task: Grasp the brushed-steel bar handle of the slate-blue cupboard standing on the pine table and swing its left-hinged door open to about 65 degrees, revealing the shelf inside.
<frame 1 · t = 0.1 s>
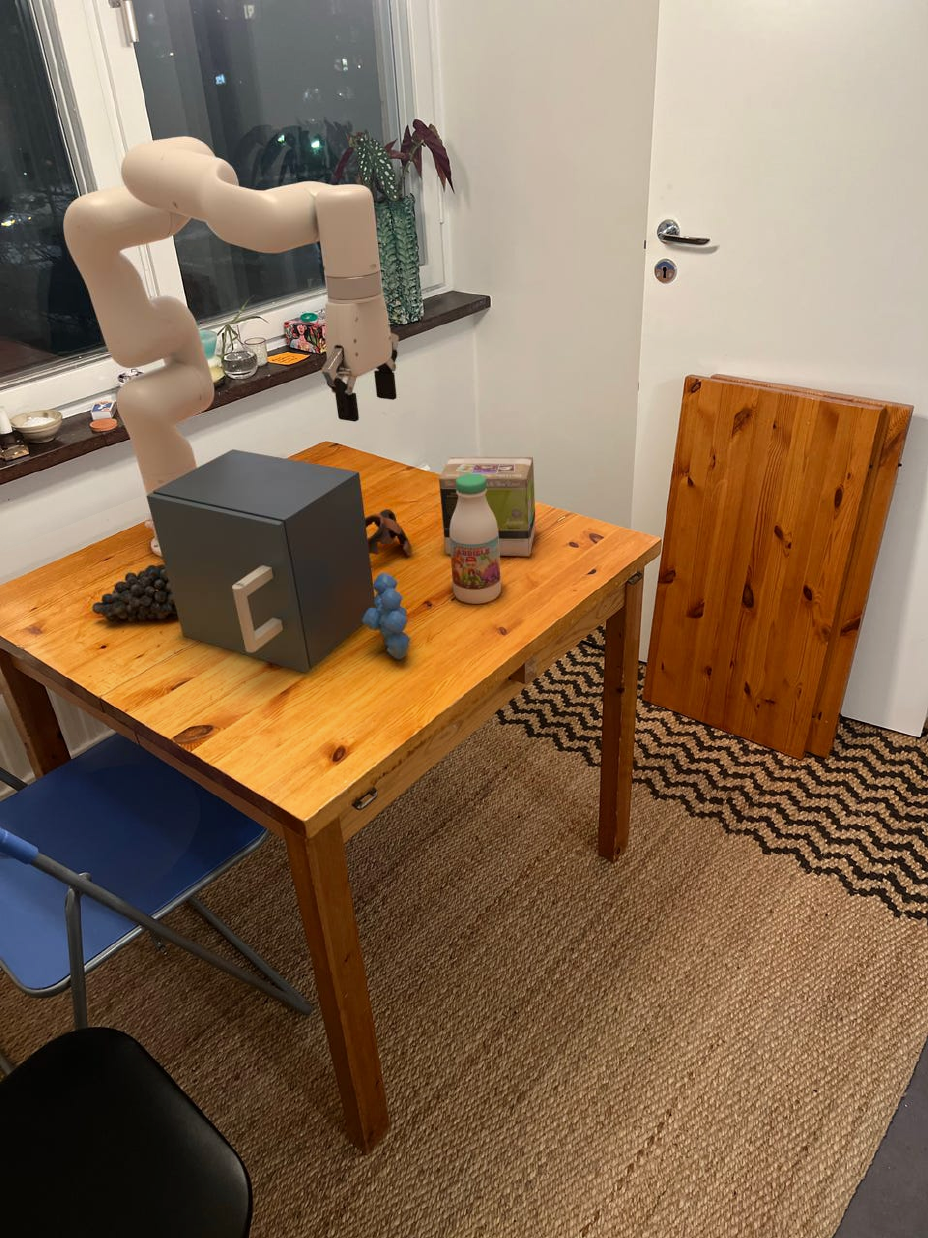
hand: (368, 408, 132), 31 cm above the table, tool pointing down, fingers open, 9 cm apart
grapes: (389, 651, 135), on the table
tea box: (490, 544, 162), on the table
brown curved legged piece: (384, 552, 162), on the table
cupboard: (283, 623, 143), on the table
cupboard door: (213, 594, 128), point 12 cm above the table, hinge at 0.0°
milk bottle: (477, 594, 148), on the table
fruit: (145, 616, 148), on the table
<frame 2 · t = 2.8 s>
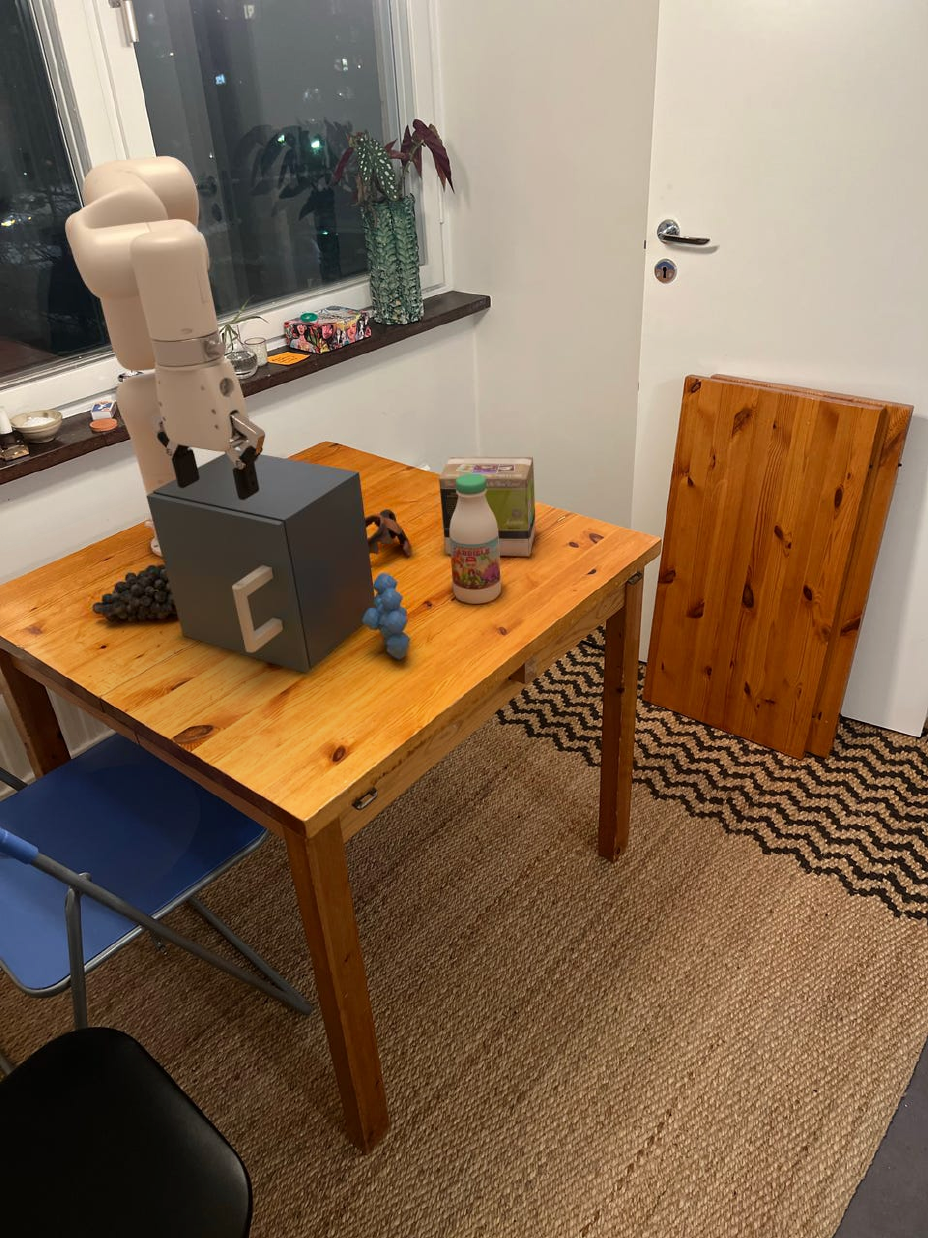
hand: (218, 489, 112), 31 cm above the table, tool pointing down, fingers open, 9 cm apart
nothing on the table moved.
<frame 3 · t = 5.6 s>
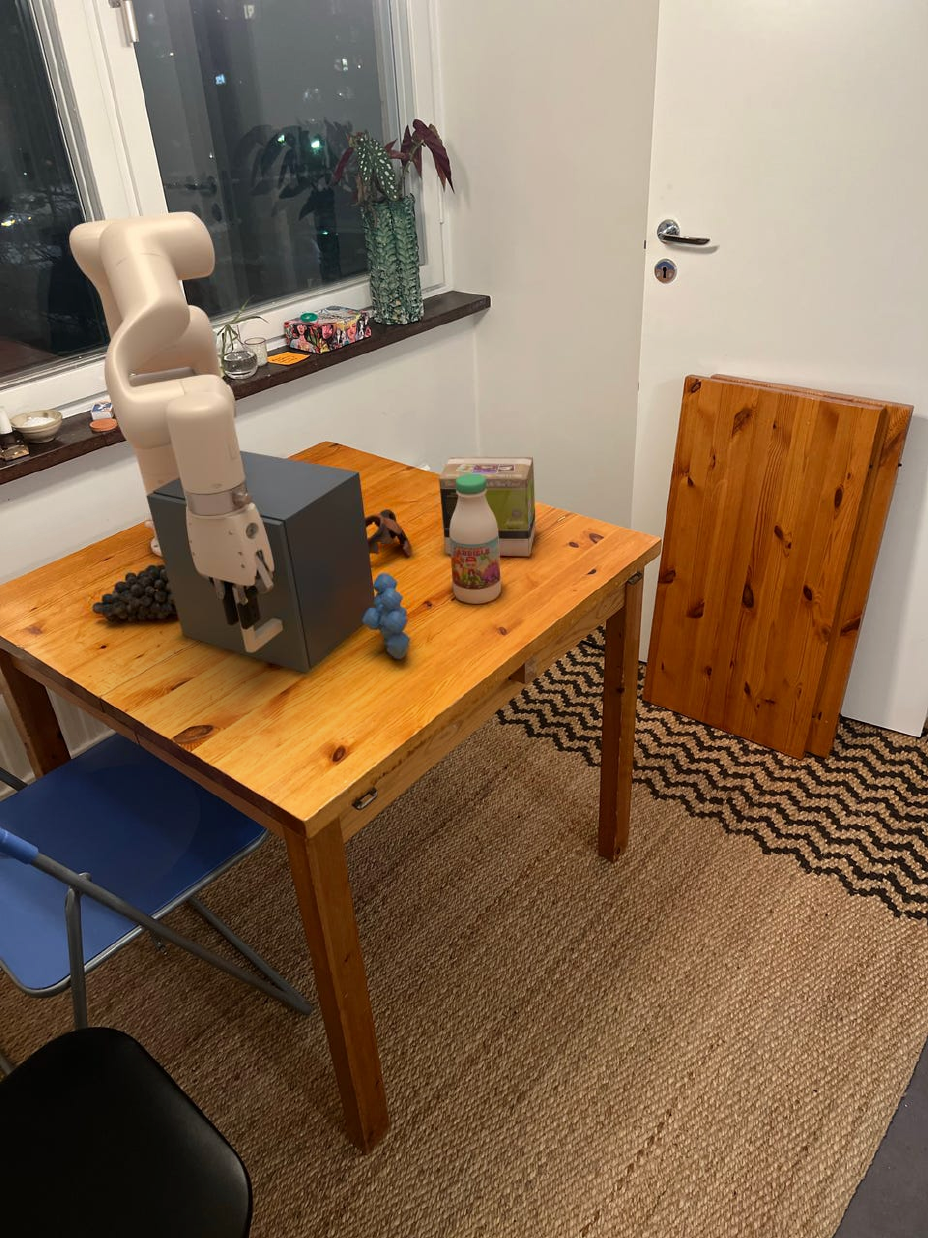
hand: (244, 621, 122), 12 cm above the table, tool pointing down, fingers closed on cupboard door
cupboard door: (213, 594, 128), point 12 cm above the table, hinge at 0.0°, touching gripper
everything else where it was.
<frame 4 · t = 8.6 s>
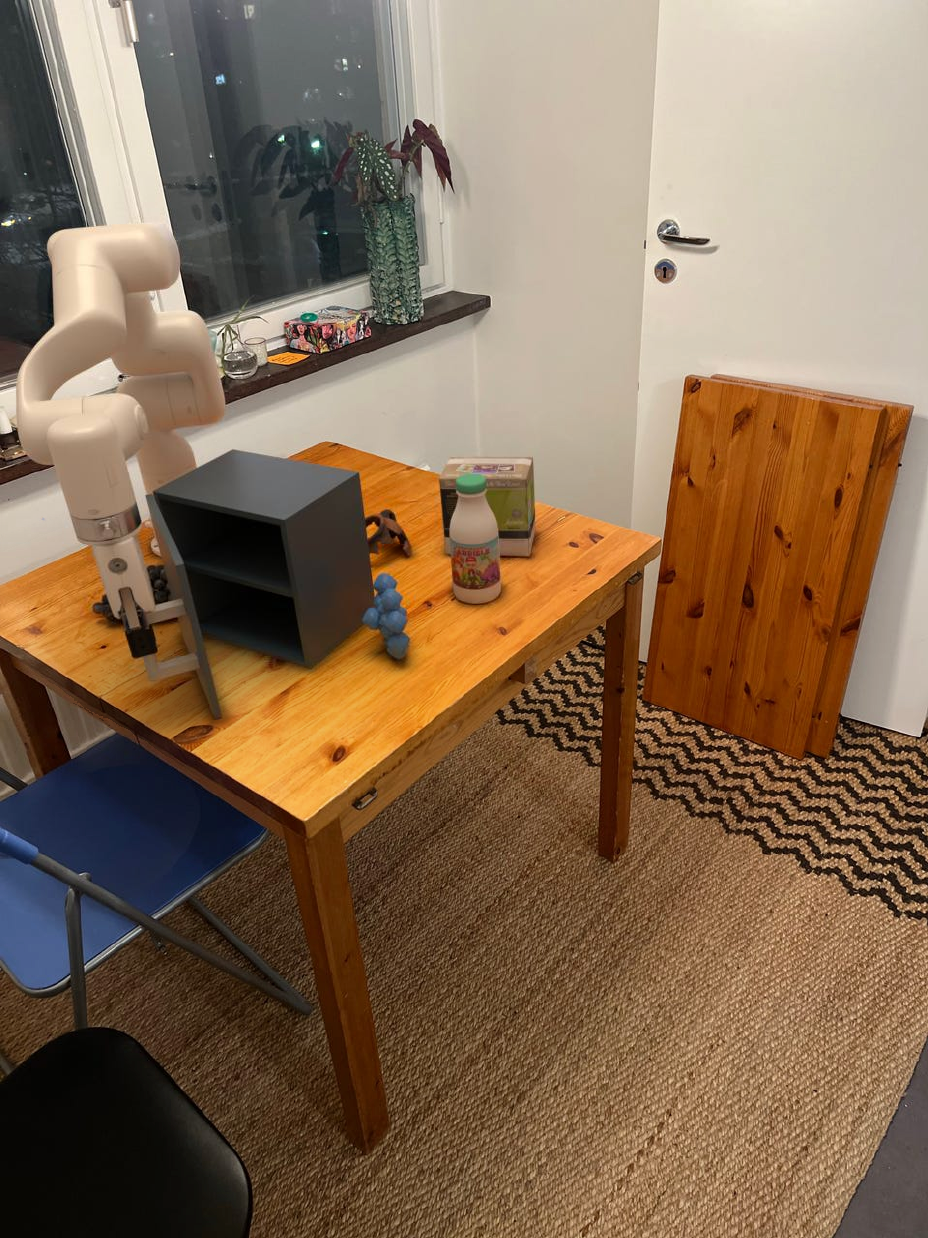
hand: (144, 648, 117), 12 cm above the table, tool pointing down, fingers closed on cupboard door
cupboard door: (158, 610, 125), point 12 cm above the table, hinge at 35.4°, touching gripper
everything else where it was.
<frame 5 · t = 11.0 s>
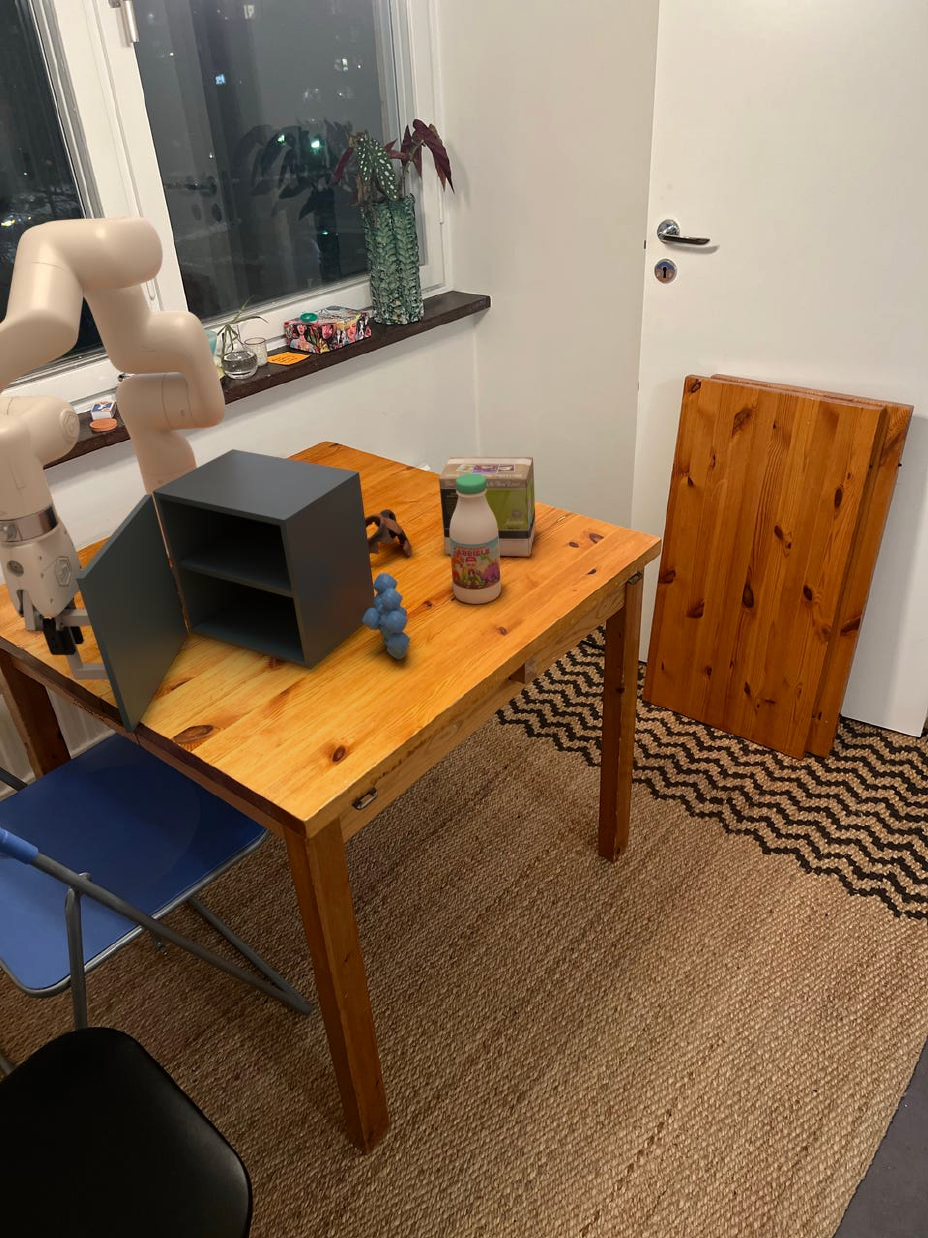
hand: (67, 647, 119), 12 cm above the table, tool pointing down, fingers closed on cupboard door
cupboard door: (116, 610, 126), point 12 cm above the table, hinge at 63.6°, touching gripper
everything else where it was.
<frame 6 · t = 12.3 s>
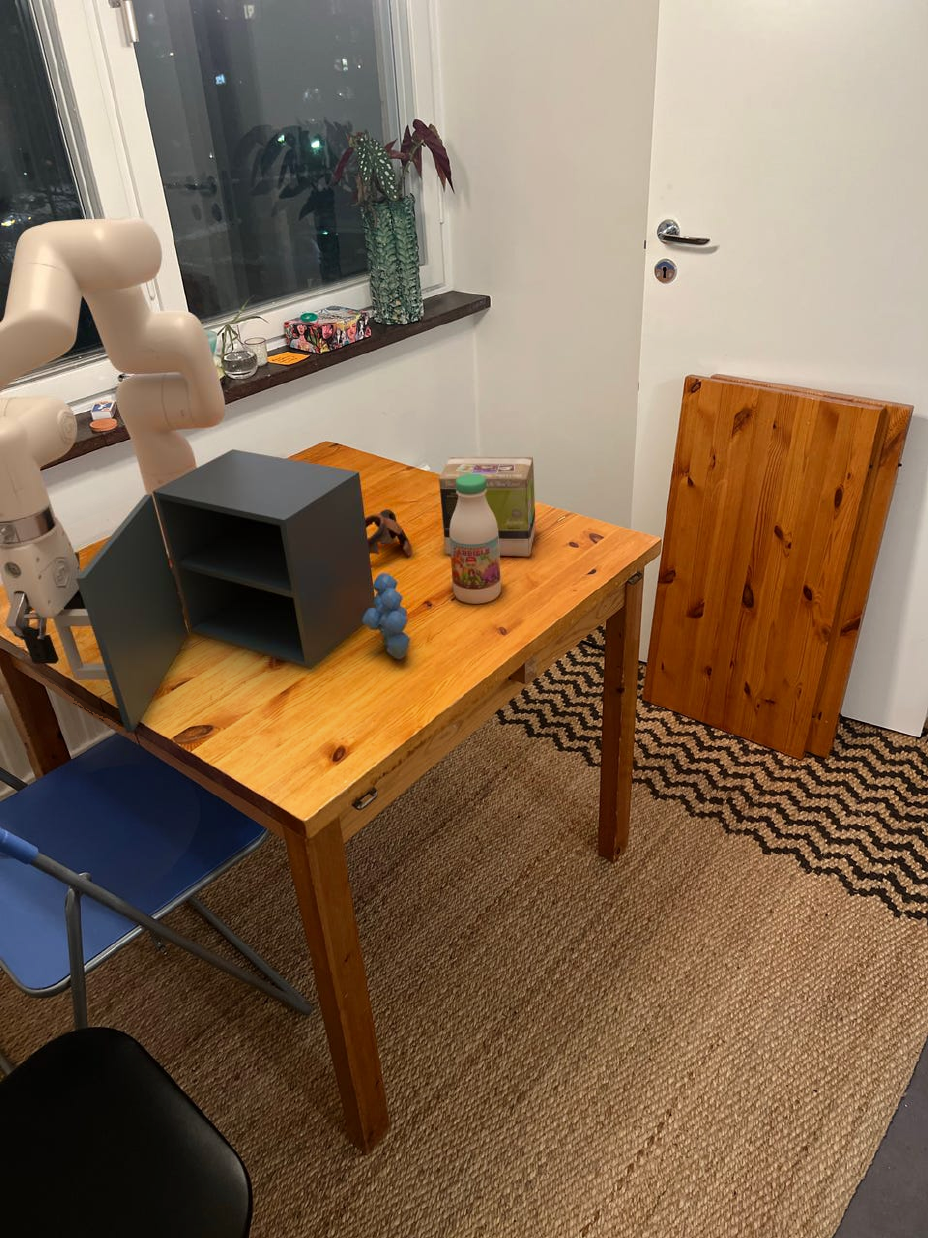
hand: (63, 640, 118), 13 cm above the table, tool pointing down, fingers open, 9 cm apart
cupboard door: (116, 610, 126), point 12 cm above the table, hinge at 63.5°
everything else where it was.
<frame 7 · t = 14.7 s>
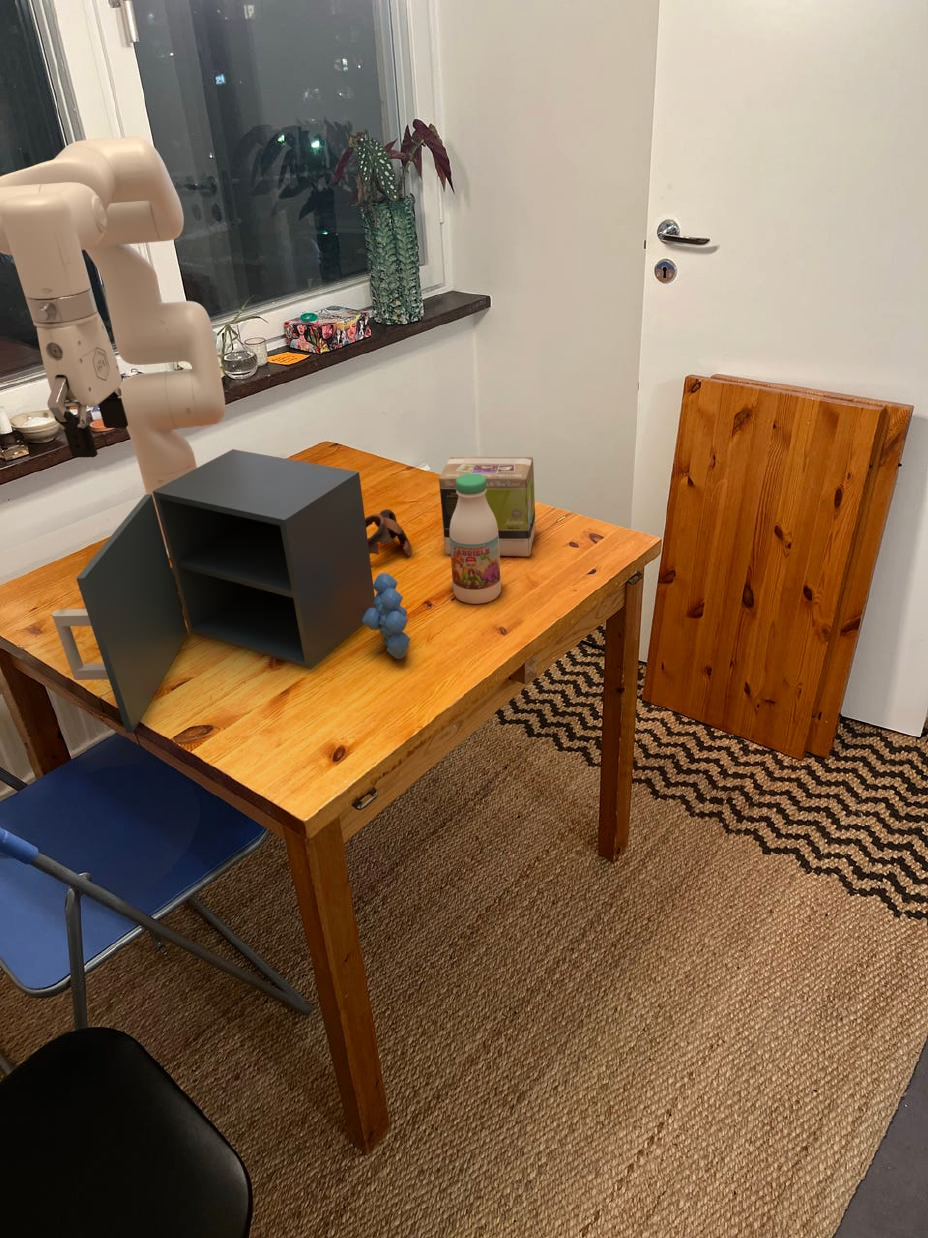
hand: (101, 441, 119), 34 cm above the table, tool pointing down, fingers open, 9 cm apart
nothing on the table moved.
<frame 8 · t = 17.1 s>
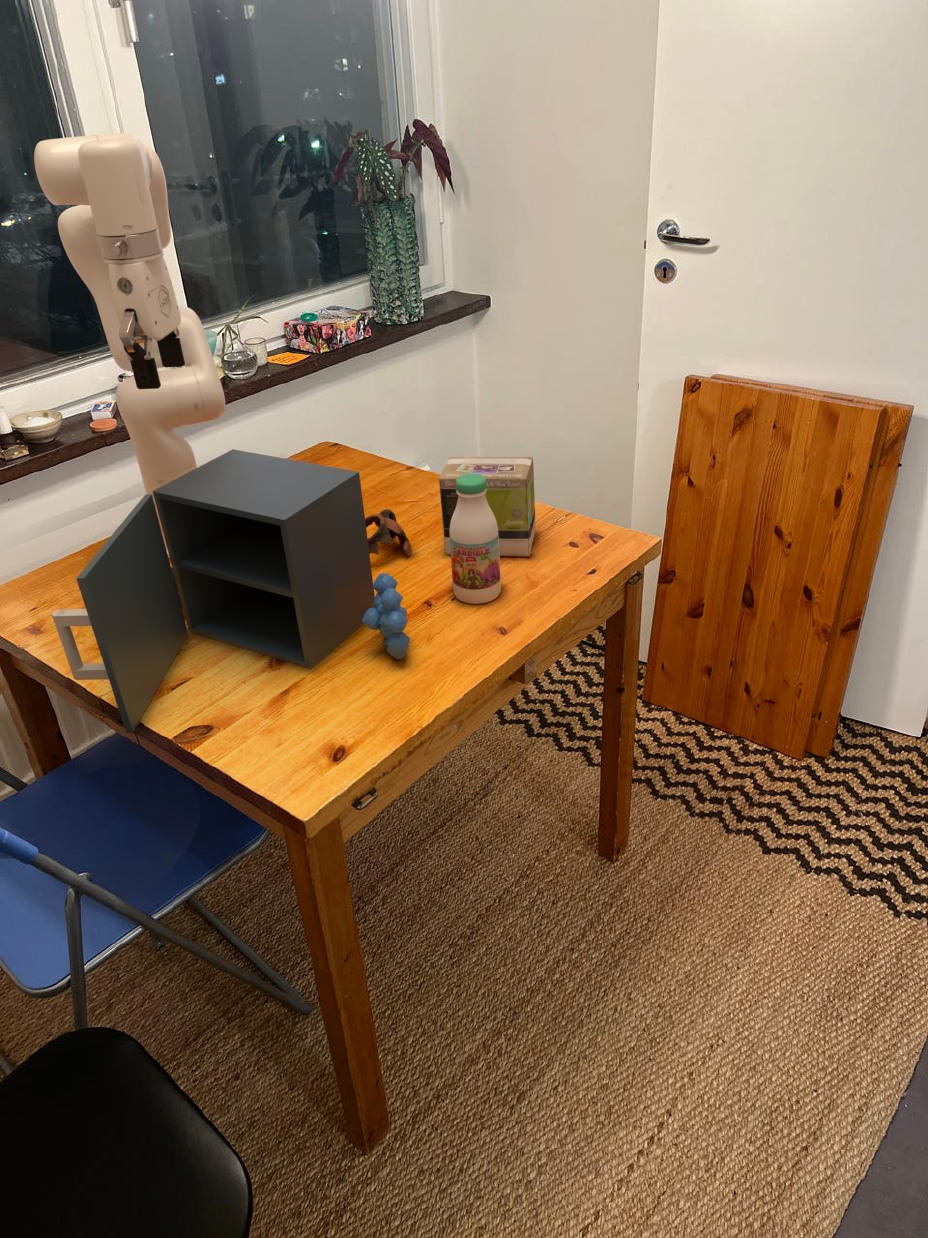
hand: (162, 376, 127), 38 cm above the table, tool pointing down, fingers open, 9 cm apart
nothing on the table moved.
at the end: cupboard door at +64° (first picture: +0°) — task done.
